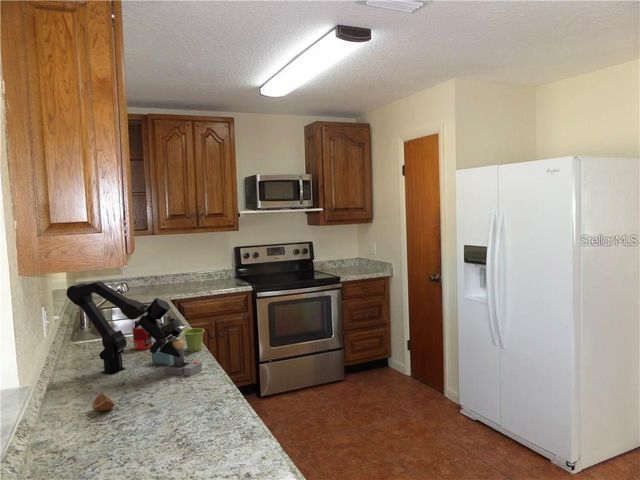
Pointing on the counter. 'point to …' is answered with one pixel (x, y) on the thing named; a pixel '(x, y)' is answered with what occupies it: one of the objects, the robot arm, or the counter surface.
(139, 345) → the canned food
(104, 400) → the brown lump
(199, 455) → the counter surface
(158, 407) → the counter surface
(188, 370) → the tester
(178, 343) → the battery cell
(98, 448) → the counter surface
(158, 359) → the bin
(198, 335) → the plant pot
